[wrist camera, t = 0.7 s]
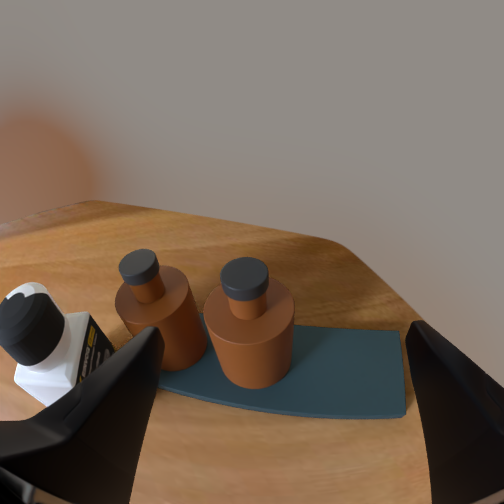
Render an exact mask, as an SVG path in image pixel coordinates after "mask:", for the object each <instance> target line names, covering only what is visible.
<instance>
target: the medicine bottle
mask: <svg viewBox="0 0 504 504" xmlns="http://www.w3.org/2000/svg"><path fill="white" fill-rule="evenodd" d="M0 345H1V346H2V347H3V349H4V350H5V351H6V352H7V353H8V354H9V355H10V356H11V357H12V358H14V359H15V360H16V361H17V362H18V365H17V369H16V373H15V377H14V381H15V382H16V383H17V384H18V385H19V386H20V387H22V388H23V389H24V390H25V391H27V392H28V393H29V394H31V395H32V396H33V397H35V398H36V399H37V400H39V401H40V402H41V403H43V404H44V405H46V406H47V407H48V406H49V405H51V404H52V403H54V402H55V401H57V400H58V399H59V398H61V397H62V396H63V395H65V394H66V393H67V392H69V391H70V390H71V389H72V388H74V387H75V386H76V385H77V384H78V383H79V382H81V381H82V380H83V379H84V378H85V377H87V376H88V375H89V374H90V373H91V372H93V371H94V370H95V369H96V368H97V367H99V366H100V365H101V364H102V363H103V362H105V361H106V360H107V359H108V358H109V357H111V356H112V355H113V354H114V353H115V352H117V350H116V348H115V347H114V346H113V345H112V343H111V342H110V341H109V340H108V338H107V337H106V336H105V334H104V333H103V332H102V330H101V329H100V328H99V326H98V325H97V323H96V322H95V321H94V319H93V318H92V316H91V315H90V314H89V313H88V312H78V313H70V314H64V313H63V312H62V310H61V309H60V308H59V306H58V305H57V304H56V302H55V301H54V299H53V298H52V296H51V295H50V293H49V292H48V290H47V289H46V288H45V286H43V285H42V284H39V283H35V282H30V283H26V284H23V285H21V286H19V287H17V288H16V289H14V290H13V291H12V292H10V293H9V294H8V295H7V296H6V297H5V299H4V300H3V301H2V303H1V304H0Z"/></svg>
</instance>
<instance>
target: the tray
mask: <svg viewBox="0 0 504 504" xmlns="http://www.w3.org/2000/svg"><path fill="white" fill-rule="evenodd" d="M199 315H200V318H201V321H202V324H203V327H204V329H205V332H206V335H207V347H206V350H205V352H204V354H203V356H202V357H201V358H200V360H199V361H197V362H196V363H195V364H194V365H192V366H191V367H189V368H187V369H184V370H180V371H165V370H162V369H161V373H160V379H159V384H158V388H160V389H163V390H167V391H170V392H174V393H177V394H181V395H184V396H188V397H192V398H196V399H200V400H204V401H208V402H213V403H217V404H222V405H227V406H232V407H237V408H242V409H248V410H254V411H260V412H267V413H274V414H282V415H291V416H301V417H313V418H330V419H389V418H402V417H403V416H404V415H406V399H405V382H404V369H403V359H402V350H401V342H400V334H399V331H386V330H360V329H341V328H326V327H313V326H301V325H294V329H293V344H292V357H291V364H290V367H289V370H288V372H287V373H286V375H285V376H284V377H283V378H282V379H281V380H280V381H278V382H277V383H275V384H274V385H272V386H269V387H266V388H262V389H248V388H243V387H240V386H238V385H236V384H234V383H233V382H231V381H230V380H229V379H228V378H227V377H226V375H225V374H224V372H223V370H222V367H221V365H220V362H219V359H218V357H217V354H216V351H215V348H214V346H213V343H212V340H211V337H210V335H209V332H208V329H207V326H206V323H205V320H204V315H203V313H199Z"/></svg>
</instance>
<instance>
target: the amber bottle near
mask: <svg viewBox="0 0 504 504" xmlns="http://www.w3.org/2000/svg"><path fill="white" fill-rule="evenodd" d="M220 279H221V284H220V285H218V286H217V287H216V288H215V289H214V290H213V291H212V292H211V293H210V294H209V296H208V298H207V299H206V302H205V305H204V310H203V315H204V320H205V323H206V326H207V329H208V332H209V335H210V337H211V340H212V343H213V346H214V348H215V351H216V354H217V357H218V359H219V362H220V365H221V367H222V370H223V372H224V374H225V375H226V377H227V378H228V379H229V380H230V381H231V382H233V383H234V384H236V385H238V386H240V387H243V388H248V389H262V388H266V387H269V386H272V385H274V384H275V383H277V382H278V381H280V380H281V379H282V378H283V377H284V376H285V375H286V373H287V372H288V370H289V367H290V364H291V357H292V344H293V329H294V313H295V304H294V299H293V297H292V295H291V293H290V292H289V290H288V289H287V288H286V287H285V286H284V285H283V284H282V283H280V282H279V281H277V280H275V279H273V278H270V277H269V274H268V268H267V266H266V265H265V264H264V263H263V262H262V261H260V260H258V259H256V258H251V257H242V258H237V259H234V260H232V261H230V262H228V263H227V264H226V265H225V266H224V267H223V268H222V270H221V273H220Z"/></svg>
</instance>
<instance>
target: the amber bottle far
mask: <svg viewBox="0 0 504 504" xmlns="http://www.w3.org/2000/svg"><path fill="white" fill-rule="evenodd" d="M119 272H120V274H121V276H122V278H123V280H124V281H125V282H124V283H123V284H122V285H121V287H120V288H119V290H118V292H117V294H116V298H115V307H116V311H117V313H118V314H119V316H120V318H121V319H122V321H123V322H124V324H125V325H126V327H127V328H128V330H129V331H130V333H131V334H132V336H133V337H135V336H136V335H137V334H138V333H139V332H141V331H142V330H143V329H144V328H145V327H147V326H155V327H158V328H159V330H160V332H161V334H162V337H163V339H164V342H165V350H164V356H163V361H162V367H161V369H162V370H165V371H180V370H184V369H187V368H189V367H191V366H192V365H194V364H195V363H196V362H197V361H199V360H200V358H201V357H202V356H203V354H204V352H205V350H206V347H207V335H206V332H205V329H204V327H203V324H202V321H201V318H200V315H199V313H198V310H197V307H196V304H195V301H194V298H193V295H192V292H191V289H190V286H189V283H188V280H187V278H186V276H185V275H184V273H182V272H181V271H180V270H178V269H176V268H174V267H171V266H159V263H158V260H157V257H156V255H155V253H154V252H153V251H152V250H149V249H139V250H135V251H133V252H131V253H129V254H127V255H126V256H125V257H124V258H123V259H122V260H121V262H120V264H119Z"/></svg>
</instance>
